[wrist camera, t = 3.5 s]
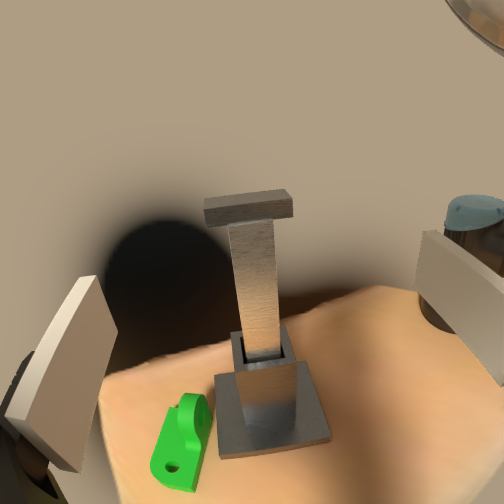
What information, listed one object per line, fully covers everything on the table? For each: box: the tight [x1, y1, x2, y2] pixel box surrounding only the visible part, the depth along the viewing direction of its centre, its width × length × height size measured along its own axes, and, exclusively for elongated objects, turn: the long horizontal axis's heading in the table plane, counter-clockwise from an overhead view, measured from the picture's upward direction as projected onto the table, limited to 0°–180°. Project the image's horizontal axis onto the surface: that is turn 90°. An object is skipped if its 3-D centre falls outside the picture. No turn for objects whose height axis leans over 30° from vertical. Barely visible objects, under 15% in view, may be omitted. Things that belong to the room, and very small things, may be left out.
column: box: [203, 189, 293, 364], centre depth 31 cm, size 7×4×28 cm, turn 97°
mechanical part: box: [150, 393, 213, 493], centre depth 31 cm, size 12×6×8 cm, turn 174°
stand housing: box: [214, 325, 332, 460], centre depth 35 cm, size 14×14×14 cm
